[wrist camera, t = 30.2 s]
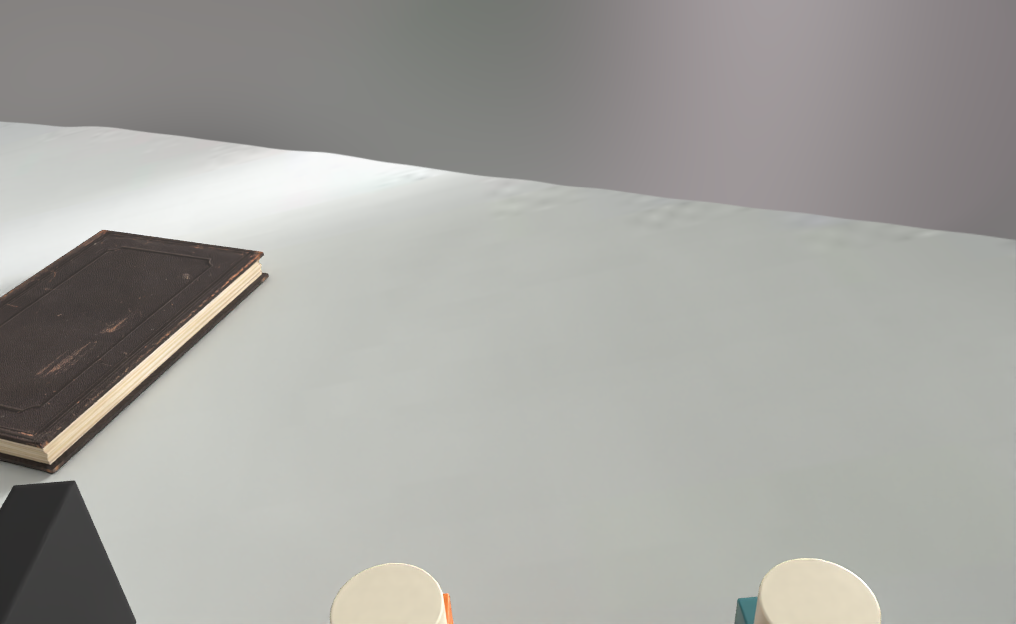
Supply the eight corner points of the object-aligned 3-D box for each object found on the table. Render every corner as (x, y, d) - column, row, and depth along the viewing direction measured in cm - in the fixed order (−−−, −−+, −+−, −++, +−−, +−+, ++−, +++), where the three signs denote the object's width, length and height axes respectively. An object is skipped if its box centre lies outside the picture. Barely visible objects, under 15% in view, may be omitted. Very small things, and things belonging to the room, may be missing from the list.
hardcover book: (269, 277, 70) (263, 251, 69) (54, 474, 52) (40, 444, 51) (105, 252, 75) (97, 228, 74) (-142, 425, 57) (-159, 396, 56)
